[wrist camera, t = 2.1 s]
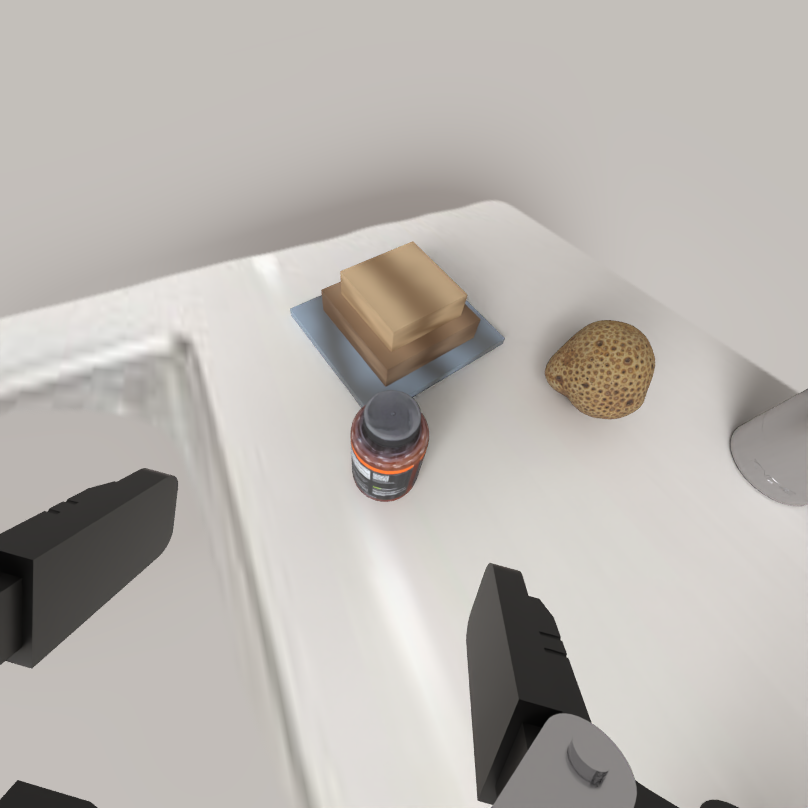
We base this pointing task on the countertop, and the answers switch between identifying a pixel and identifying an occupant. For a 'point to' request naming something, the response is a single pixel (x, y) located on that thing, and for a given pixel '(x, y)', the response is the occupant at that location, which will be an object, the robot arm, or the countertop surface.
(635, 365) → the natural sponge
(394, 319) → the block tower
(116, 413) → the countertop surface
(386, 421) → the supplement bottle
